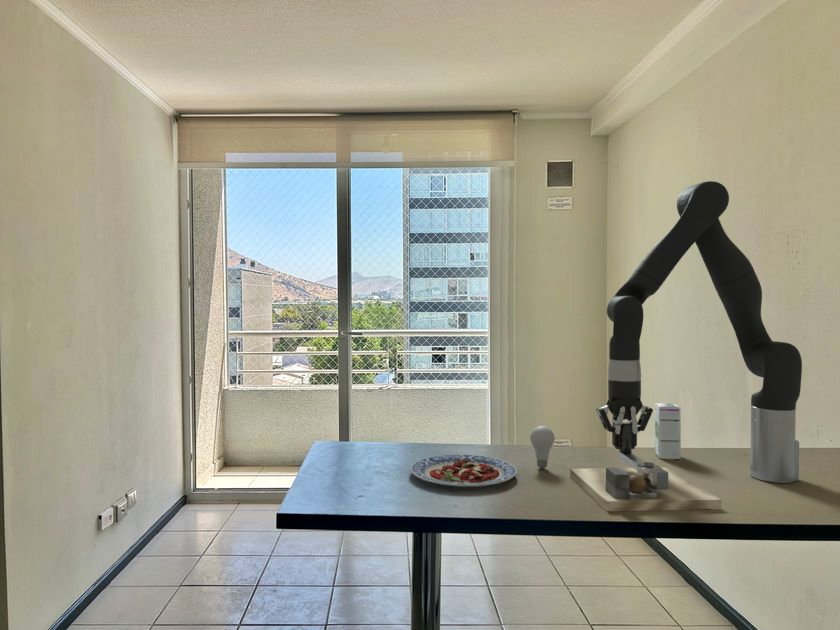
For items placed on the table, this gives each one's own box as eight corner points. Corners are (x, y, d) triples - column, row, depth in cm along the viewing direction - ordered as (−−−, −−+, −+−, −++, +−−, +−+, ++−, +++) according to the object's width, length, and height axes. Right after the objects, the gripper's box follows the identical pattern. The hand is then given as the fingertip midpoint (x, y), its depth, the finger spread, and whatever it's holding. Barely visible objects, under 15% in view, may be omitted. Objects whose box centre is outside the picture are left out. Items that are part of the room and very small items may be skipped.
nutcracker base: (665, 475, 139) (666, 447, 139) (721, 509, 116) (721, 475, 116) (570, 476, 138) (570, 448, 137) (606, 511, 115) (607, 477, 114)
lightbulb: (556, 467, 146) (556, 424, 146) (551, 473, 140) (551, 429, 140) (533, 464, 148) (533, 422, 148) (527, 470, 143) (527, 427, 143)
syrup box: (681, 460, 153) (682, 406, 153) (658, 458, 154) (658, 405, 154) (676, 454, 159) (676, 403, 158) (653, 453, 160) (654, 402, 160)
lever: (633, 461, 139) (633, 422, 139) (674, 489, 118) (674, 443, 118) (613, 461, 139) (613, 422, 138) (650, 489, 118) (651, 443, 117)
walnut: (643, 489, 121) (637, 471, 122) (652, 492, 117) (646, 473, 118) (626, 494, 121) (620, 476, 121) (634, 497, 117) (628, 478, 117)
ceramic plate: (458, 457, 156) (458, 446, 156) (537, 477, 138) (537, 465, 138) (388, 476, 138) (388, 464, 138) (468, 503, 120) (468, 489, 120)
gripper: (645, 375, 141) (645, 443, 142) (590, 376, 141) (590, 445, 141) (659, 379, 134) (659, 451, 134) (602, 380, 133) (602, 453, 134)
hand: (624, 448), depth 138 cm, fingers closed on lever, 3 cm apart
